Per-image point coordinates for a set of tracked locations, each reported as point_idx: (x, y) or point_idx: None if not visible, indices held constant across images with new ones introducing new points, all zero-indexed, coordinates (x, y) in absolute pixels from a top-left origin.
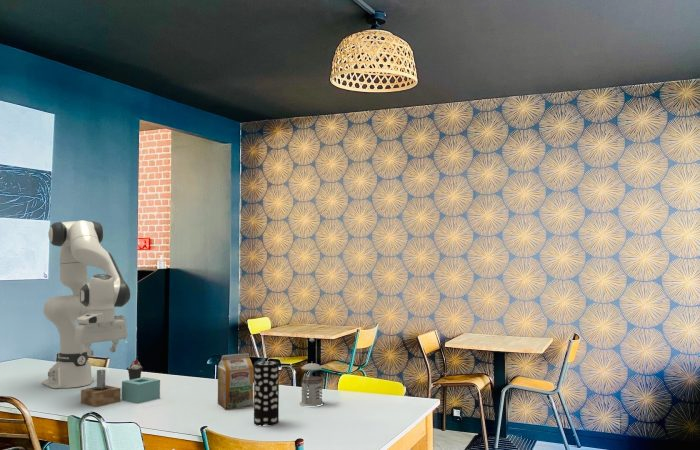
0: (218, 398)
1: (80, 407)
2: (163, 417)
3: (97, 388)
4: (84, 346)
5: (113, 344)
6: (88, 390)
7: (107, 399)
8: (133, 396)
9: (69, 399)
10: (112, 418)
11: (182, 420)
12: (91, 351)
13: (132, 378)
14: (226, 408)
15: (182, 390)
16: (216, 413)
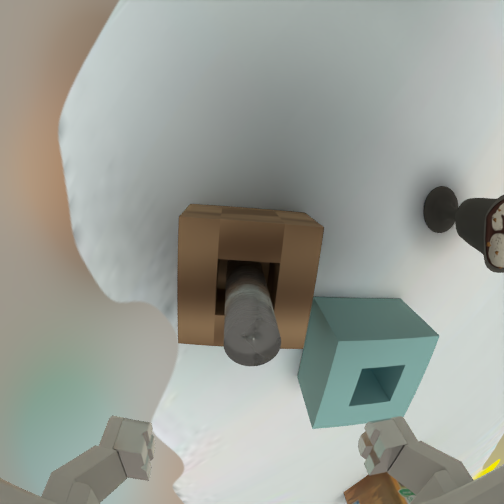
0: (384, 474)
1: (174, 225)
2: (242, 473)
3: (225, 292)
4: (52, 474)
5: (424, 464)
6: (189, 265)
7: None
8: (307, 376)
9: (241, 58)
10: (161, 413)
11: (246, 496)
12: (127, 473)
13: (463, 232)
14: (345, 494)
15: (486, 317)
16: (315, 498)
